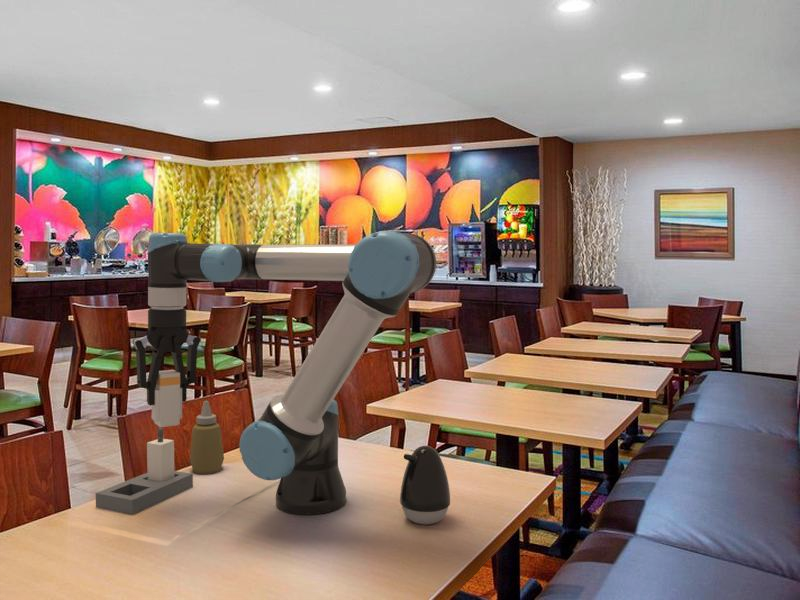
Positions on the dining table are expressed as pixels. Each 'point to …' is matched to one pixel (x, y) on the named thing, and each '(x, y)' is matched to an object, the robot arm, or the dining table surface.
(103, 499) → the grey flat block
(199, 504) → the dining table surface
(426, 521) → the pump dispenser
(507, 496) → the dining table surface
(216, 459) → the squeeze bottle
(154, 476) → the twin plug
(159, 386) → the plug
